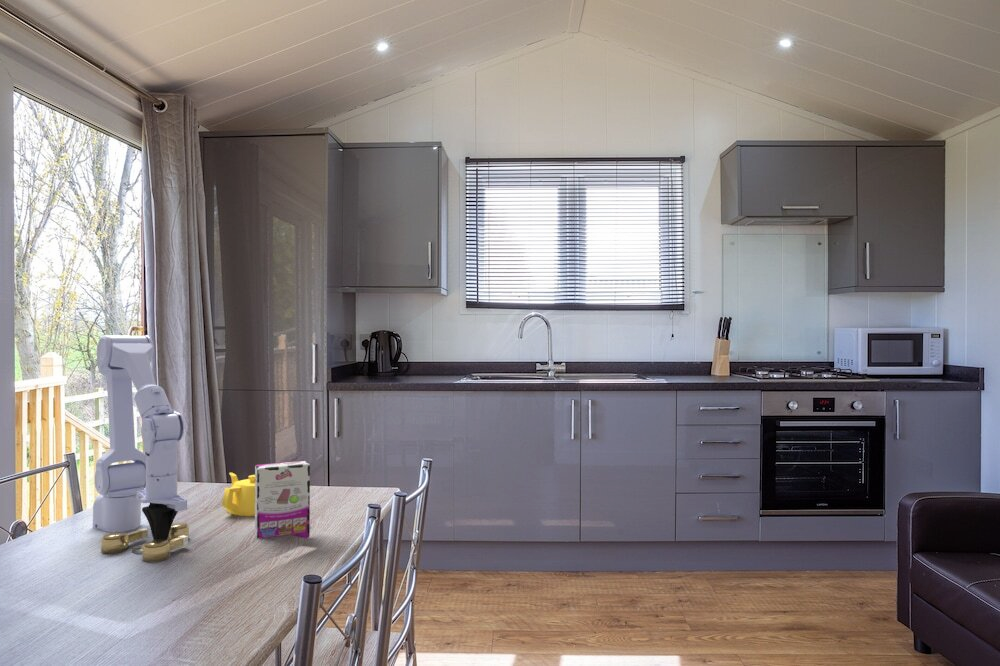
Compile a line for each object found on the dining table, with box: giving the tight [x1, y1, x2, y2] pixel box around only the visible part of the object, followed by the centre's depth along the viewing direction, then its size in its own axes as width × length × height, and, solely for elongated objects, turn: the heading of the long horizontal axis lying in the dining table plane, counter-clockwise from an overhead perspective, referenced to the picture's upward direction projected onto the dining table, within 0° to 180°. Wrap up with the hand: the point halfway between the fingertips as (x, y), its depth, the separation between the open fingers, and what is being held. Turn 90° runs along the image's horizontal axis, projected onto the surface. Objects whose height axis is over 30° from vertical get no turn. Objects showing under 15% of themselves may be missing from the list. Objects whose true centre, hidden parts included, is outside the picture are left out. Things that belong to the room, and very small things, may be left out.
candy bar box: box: [254, 460, 311, 539], centre depth 142 cm, size 11×5×16 cm, turn 118°
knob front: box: [141, 535, 189, 563], centre depth 127 cm, size 9×5×3 cm, turn 158°
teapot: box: [221, 472, 255, 517], centre depth 160 cm, size 14×13×10 cm
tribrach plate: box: [131, 543, 144, 555], centre depth 131 cm, size 22×21×2 cm
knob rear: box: [167, 522, 190, 541], centre depth 137 cm, size 9×5×3 cm, turn 55°
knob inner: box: [100, 527, 149, 555], centre depth 131 cm, size 9×5×3 cm, turn 158°
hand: (160, 540), depth 131 cm, fingers closed
